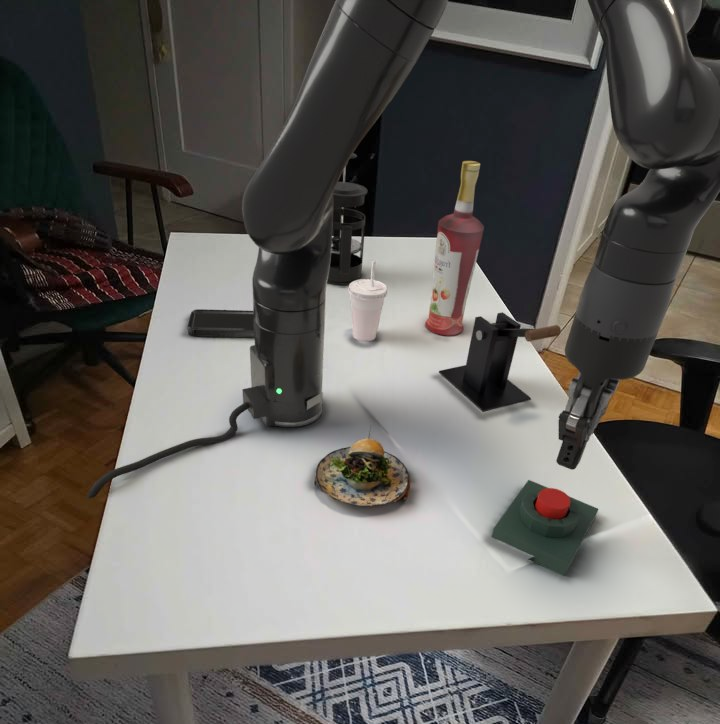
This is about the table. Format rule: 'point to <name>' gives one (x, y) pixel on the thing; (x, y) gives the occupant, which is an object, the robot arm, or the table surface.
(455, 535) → the table surface
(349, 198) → the french press
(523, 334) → the toast lever
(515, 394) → the black stand
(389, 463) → the burger
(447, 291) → the liquor
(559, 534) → the green piece
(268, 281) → the robot arm
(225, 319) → the phone
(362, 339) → the smoothie
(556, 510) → the power button
